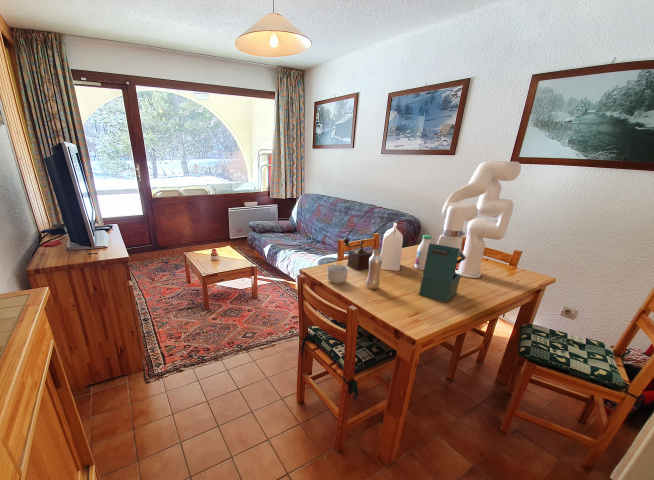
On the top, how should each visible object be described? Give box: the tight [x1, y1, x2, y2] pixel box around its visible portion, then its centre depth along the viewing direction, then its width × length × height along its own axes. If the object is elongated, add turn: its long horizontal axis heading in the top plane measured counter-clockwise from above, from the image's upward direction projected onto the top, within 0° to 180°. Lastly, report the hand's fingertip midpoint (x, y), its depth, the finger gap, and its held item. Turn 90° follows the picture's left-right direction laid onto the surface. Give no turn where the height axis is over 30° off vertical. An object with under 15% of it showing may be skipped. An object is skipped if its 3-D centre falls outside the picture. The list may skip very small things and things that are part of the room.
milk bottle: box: [413, 234, 432, 271], centre depth 181 cm, size 8×8×20 cm
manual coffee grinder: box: [342, 237, 373, 271], centre depth 183 cm, size 16×11×18 cm
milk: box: [380, 222, 404, 272], centre depth 182 cm, size 12×12×26 cm
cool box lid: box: [422, 242, 460, 282], centre depth 138 cm, size 16×13×5 cm
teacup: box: [326, 263, 349, 284], centre depth 165 cm, size 14×11×8 cm
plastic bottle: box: [365, 248, 382, 290], centre depth 154 cm, size 6×7×20 cm
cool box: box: [419, 272, 462, 304], centre depth 149 cm, size 15×13×10 cm
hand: (443, 269), depth 147 cm, fingers closed on cup, 6 cm apart
